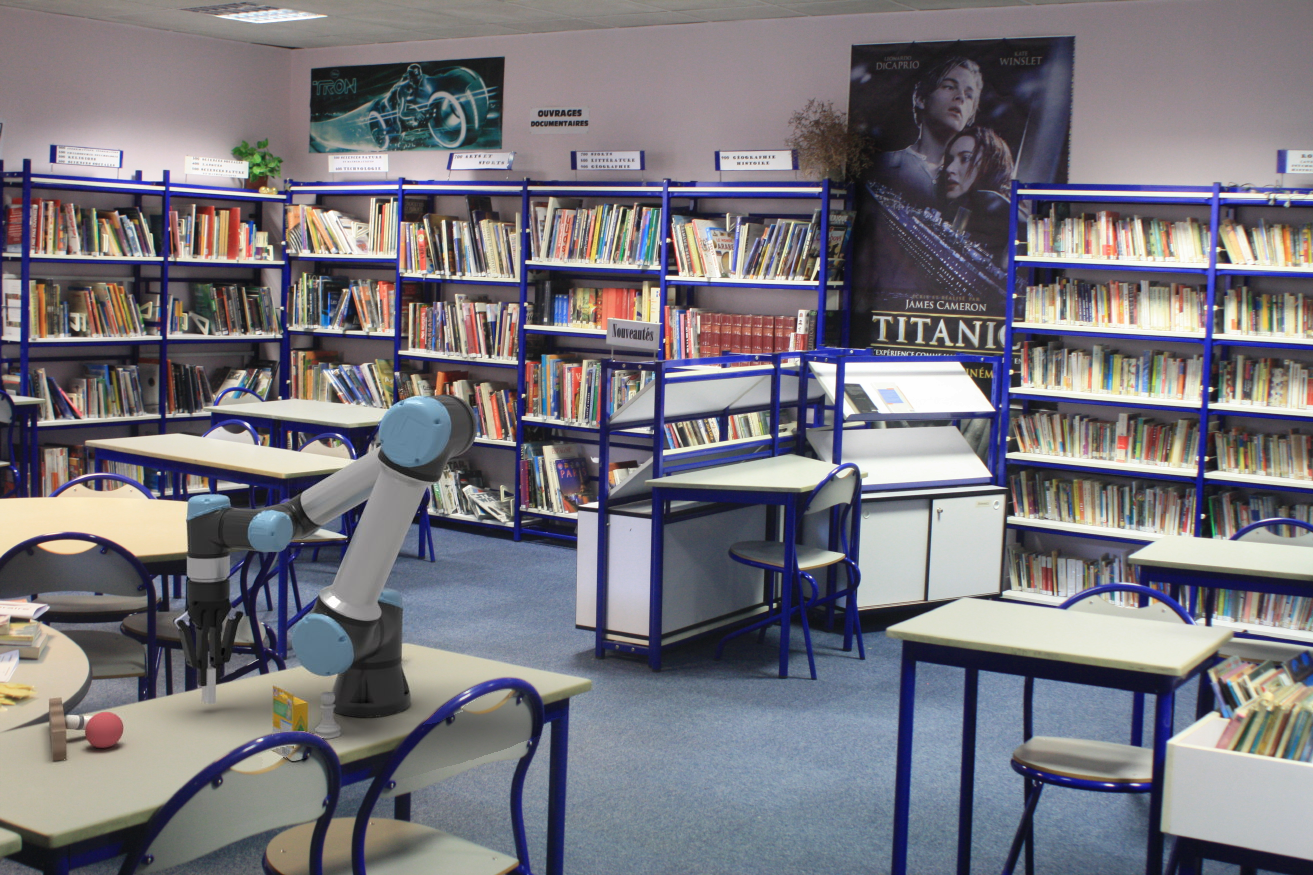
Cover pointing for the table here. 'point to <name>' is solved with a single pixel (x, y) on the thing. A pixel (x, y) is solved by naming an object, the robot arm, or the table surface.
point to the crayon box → (288, 716)
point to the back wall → (57, 729)
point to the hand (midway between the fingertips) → (208, 701)
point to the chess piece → (328, 718)
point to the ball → (104, 729)
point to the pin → (76, 722)
